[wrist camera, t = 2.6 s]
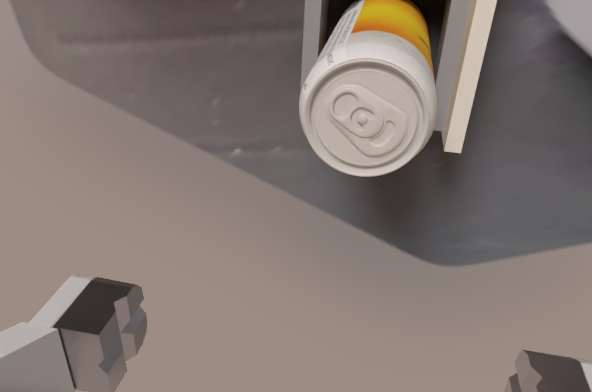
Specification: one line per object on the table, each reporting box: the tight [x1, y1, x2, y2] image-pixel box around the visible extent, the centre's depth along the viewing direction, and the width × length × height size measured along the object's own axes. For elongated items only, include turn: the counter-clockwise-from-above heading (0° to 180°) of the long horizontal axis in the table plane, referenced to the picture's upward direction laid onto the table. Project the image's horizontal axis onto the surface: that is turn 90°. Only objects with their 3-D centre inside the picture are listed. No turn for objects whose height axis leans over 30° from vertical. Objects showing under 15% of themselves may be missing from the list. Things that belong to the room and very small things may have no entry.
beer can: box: [299, 0, 438, 177], centre depth 28 cm, size 6×6×15 cm
